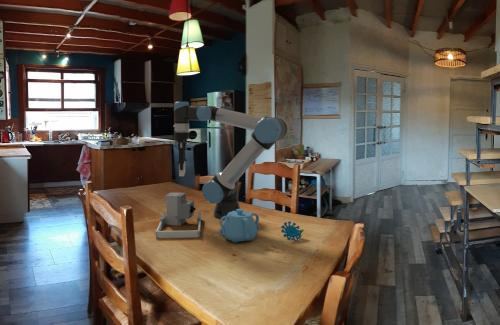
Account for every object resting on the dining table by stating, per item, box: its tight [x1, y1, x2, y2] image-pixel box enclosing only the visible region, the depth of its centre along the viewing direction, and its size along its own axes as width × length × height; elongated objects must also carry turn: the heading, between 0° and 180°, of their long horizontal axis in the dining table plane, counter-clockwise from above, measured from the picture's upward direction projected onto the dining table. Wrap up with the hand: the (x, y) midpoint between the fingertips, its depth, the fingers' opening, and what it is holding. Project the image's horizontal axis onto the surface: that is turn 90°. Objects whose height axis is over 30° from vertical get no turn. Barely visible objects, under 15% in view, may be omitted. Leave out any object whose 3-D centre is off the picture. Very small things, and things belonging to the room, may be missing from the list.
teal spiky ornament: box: [280, 221, 305, 241], centre depth 182 cm, size 11×6×10 cm
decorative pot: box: [218, 208, 260, 244], centre depth 180 cm, size 16×16×14 cm
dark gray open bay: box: [159, 211, 202, 228], centre depth 204 cm, size 20×13×4 cm, turn 96°
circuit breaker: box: [164, 191, 197, 227], centre depth 203 cm, size 8×14×15 cm, turn 78°
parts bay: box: [155, 220, 202, 239], centre depth 190 cm, size 20×17×3 cm
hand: (182, 174), depth 212 cm, fingers open, 8 cm apart
